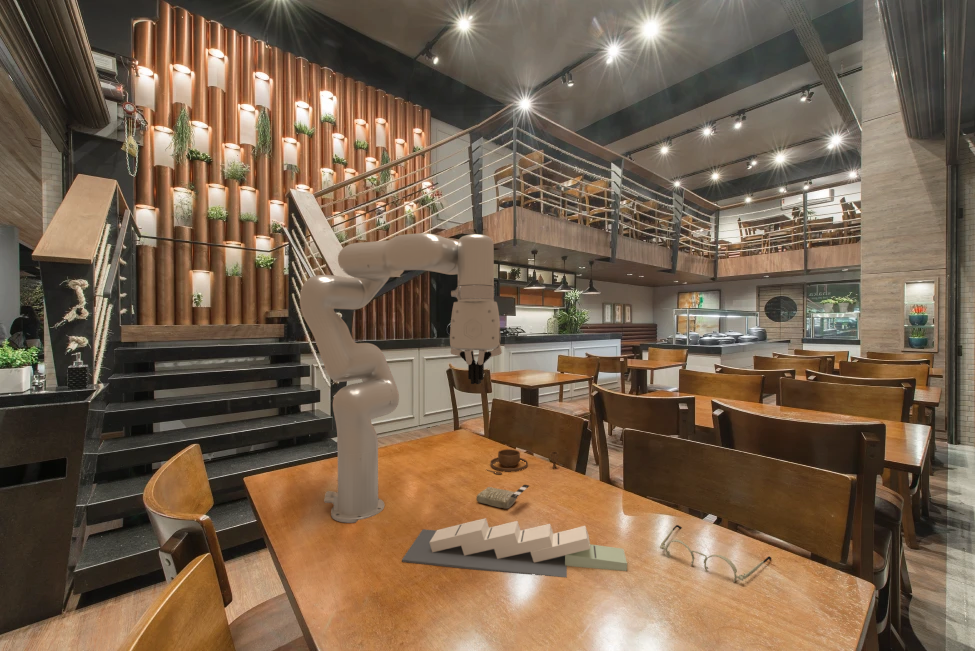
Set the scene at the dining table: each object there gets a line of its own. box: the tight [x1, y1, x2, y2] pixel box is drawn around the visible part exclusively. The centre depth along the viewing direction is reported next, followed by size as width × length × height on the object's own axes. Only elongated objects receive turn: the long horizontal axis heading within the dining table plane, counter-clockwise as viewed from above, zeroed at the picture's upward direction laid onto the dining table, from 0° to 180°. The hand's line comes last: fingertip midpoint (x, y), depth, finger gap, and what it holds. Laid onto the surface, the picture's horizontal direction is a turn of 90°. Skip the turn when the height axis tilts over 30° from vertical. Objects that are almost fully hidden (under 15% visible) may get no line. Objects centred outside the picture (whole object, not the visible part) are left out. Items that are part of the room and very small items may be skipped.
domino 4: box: [531, 525, 591, 563], centre depth 80 cm, size 2×5×11 cm
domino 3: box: [494, 523, 554, 559], centre depth 81 cm, size 2×5×11 cm
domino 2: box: [461, 520, 522, 556], centre depth 83 cm, size 2×5×11 cm
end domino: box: [565, 543, 628, 572], centre depth 79 cm, size 2×5×11 cm
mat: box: [401, 529, 568, 578], centre depth 83 cm, size 31×12×1 cm, turn 79°
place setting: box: [486, 448, 559, 476], centre depth 131 cm, size 18×20×6 cm
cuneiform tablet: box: [476, 484, 530, 510], centre depth 105 cm, size 7×4×12 cm
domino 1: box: [429, 517, 489, 552], centre depth 84 cm, size 2×5×11 cm
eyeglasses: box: [659, 524, 772, 584], centre depth 81 cm, size 17×15×5 cm
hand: (476, 383), depth 87 cm, fingers closed
